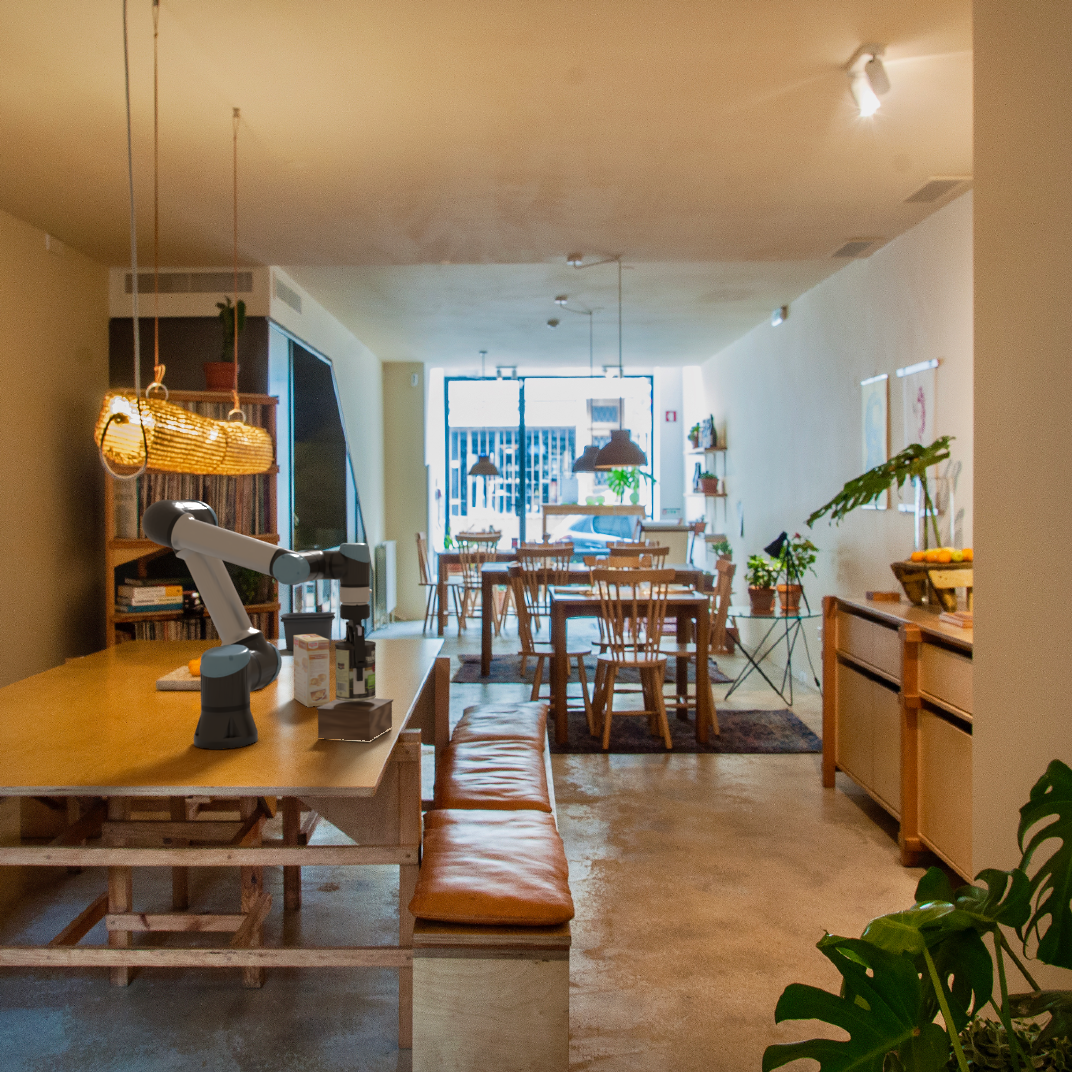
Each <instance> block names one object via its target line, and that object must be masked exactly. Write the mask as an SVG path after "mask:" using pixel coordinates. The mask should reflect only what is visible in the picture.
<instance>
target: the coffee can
mask: <svg viewBox="0 0 1072 1072" xmlns="http://www.w3.org/2000/svg"><path fill="white" fill-rule="evenodd" d="M376 645H377V643H376V642H375V641H374V640H373V641H372V640H365V652H366V666H365V693H363V694H353V669H352V668H351V667H352V665H354V650H355V646H352V644H351V643H350V642H348V641H346V640H343V641H338V642H335V644H334V647H335V700H336V699H337V700H341V701H365V700H370V699H373V698H376V696H377V695H376V647H377V646H376Z"/></svg>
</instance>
